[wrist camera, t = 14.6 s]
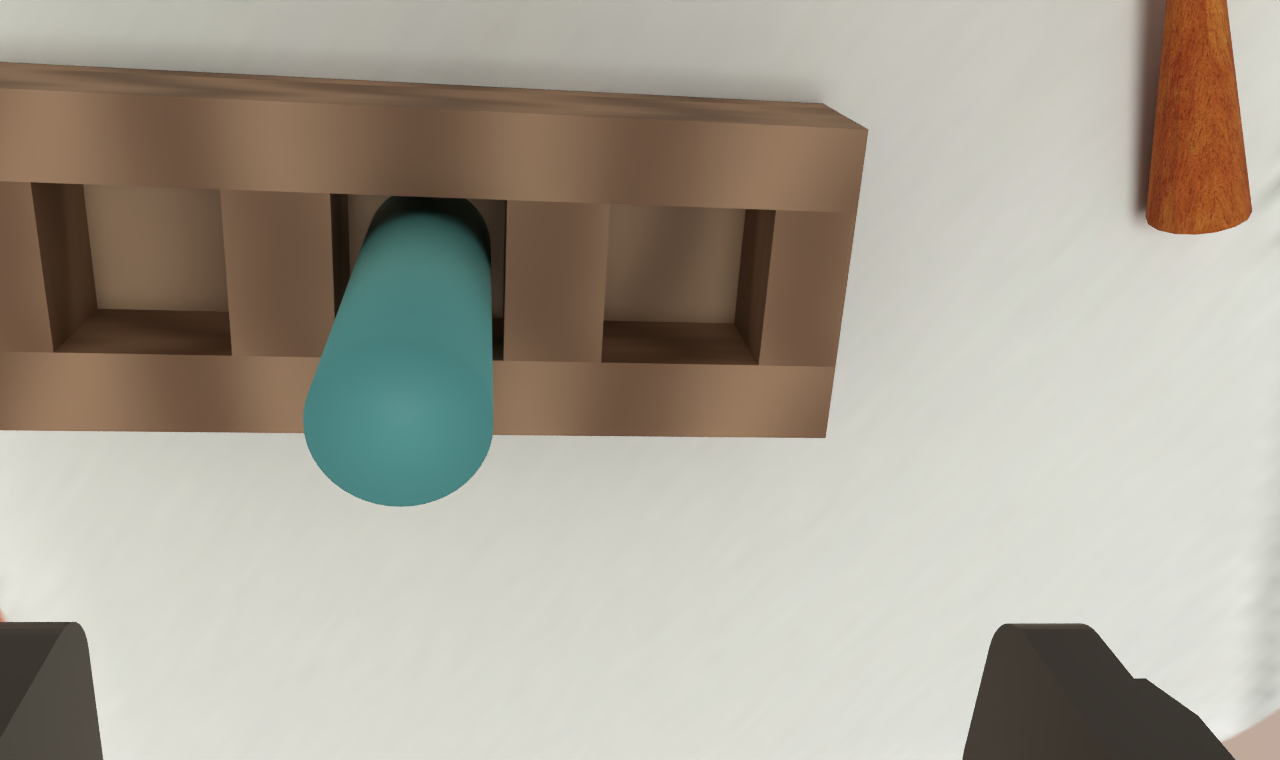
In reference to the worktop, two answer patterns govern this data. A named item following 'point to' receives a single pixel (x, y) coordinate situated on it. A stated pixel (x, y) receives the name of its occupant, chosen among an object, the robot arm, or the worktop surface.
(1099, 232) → the worktop surface
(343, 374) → the pin
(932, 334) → the worktop surface
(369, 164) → the bore block
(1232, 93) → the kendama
